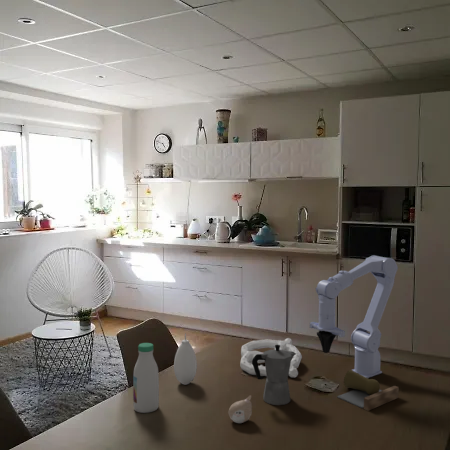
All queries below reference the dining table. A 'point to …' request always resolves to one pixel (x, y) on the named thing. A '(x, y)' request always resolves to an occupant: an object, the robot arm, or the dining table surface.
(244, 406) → the garlic bulb
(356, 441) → the dining table surface
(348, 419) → the dining table surface
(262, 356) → the coffeepot
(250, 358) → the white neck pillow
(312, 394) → the dining table surface
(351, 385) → the cork
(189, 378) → the sauce bottle
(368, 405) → the stop rail
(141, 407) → the milk bottle
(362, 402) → the mat
